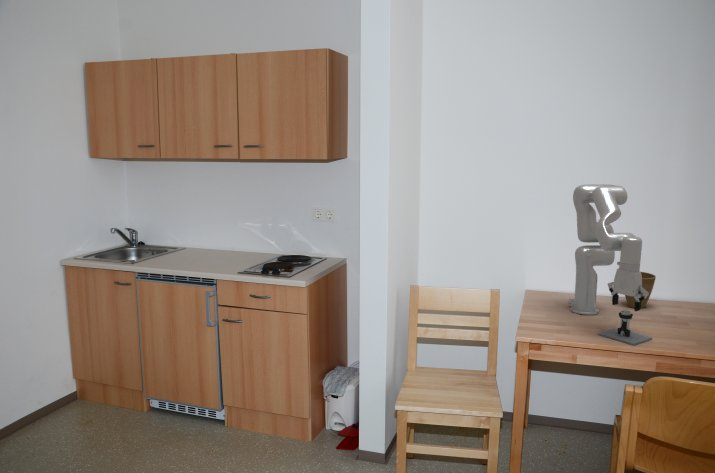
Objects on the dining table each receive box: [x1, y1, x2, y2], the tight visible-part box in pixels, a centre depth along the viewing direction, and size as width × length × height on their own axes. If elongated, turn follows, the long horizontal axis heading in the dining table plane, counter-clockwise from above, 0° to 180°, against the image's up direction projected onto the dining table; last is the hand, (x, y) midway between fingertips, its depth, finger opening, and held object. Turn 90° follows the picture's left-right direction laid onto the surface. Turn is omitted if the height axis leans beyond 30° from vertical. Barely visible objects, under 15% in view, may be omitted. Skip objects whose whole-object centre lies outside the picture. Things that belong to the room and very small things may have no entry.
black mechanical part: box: [616, 309, 634, 337], centre depth 239 cm, size 7×5×10 cm
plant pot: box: [624, 271, 657, 309], centre depth 282 cm, size 15×15×16 cm
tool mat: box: [597, 327, 653, 346], centre depth 239 cm, size 16×13×1 cm
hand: (625, 307), depth 238 cm, fingers open, 9 cm apart
